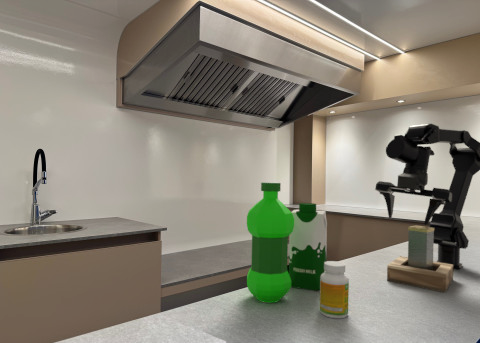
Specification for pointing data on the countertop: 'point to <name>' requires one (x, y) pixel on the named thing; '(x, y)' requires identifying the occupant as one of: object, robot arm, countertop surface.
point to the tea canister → (420, 247)
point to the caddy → (420, 275)
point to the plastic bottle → (269, 245)
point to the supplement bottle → (334, 290)
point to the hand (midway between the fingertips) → (407, 221)
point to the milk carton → (307, 247)
